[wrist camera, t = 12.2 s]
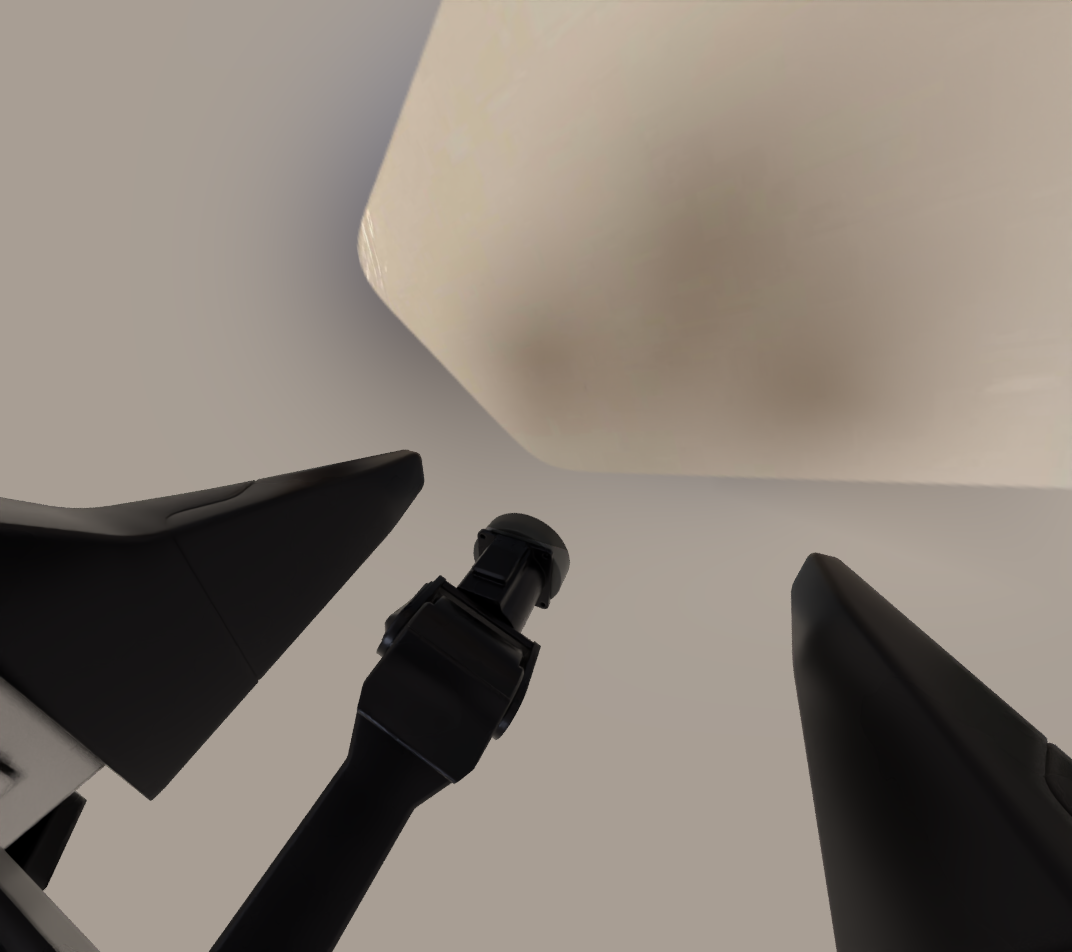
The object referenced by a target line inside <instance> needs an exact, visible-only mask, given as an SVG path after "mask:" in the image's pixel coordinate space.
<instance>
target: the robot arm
mask: <svg viewBox="0 0 1072 952" xmlns="http://www.w3.org/2000/svg"><path fill="white" fill-rule="evenodd" d="M423 485H424V474H423V466H422V459H421V456H420V454H418V453H417V452H413V451H409V450H400V451H396V452H390V453H385V454H380V455H376V456H371V457H366V458H361V459H356V460H351V461H346V462H342V463H336V464H332V465H326V466H322V467H317V468H312V469H307V470H302V471H297V472H293V473H287V474H282V475H278V476H273V477H268V478H263V479H258V480H257V481H255V480H253V481H248V482H243V483H238V484H233V485H228V486H222V487H217V488H212V489H207V490H201V491H195V492H190V493H184V494H178V495H172V496H166V497H161V498H154V499H148V500H142V501H136V502H130V503H124V504H118V505H112V506H104V507H95V508H64V507H55V506H48V505H42V504H36V503H31V502H25V501H19V500H13V499H7V498H1V497H0V952H100V951H99V950H98V949H97V948H96V947H95V946H94V945H93V944H92V943H91V942H90V941H89V939H88V938H87V937H86V936H85V935H84V934H83V933H82V932H81V931H80V930H79V929H78V928H77V927H76V926H75V925H74V924H73V923H72V921H71V920H70V919H68V917H67V916H66V915H65V914H64V913H63V912H62V911H61V910H60V909H59V908H58V907H57V906H56V905H55V903H54V902H53V901H52V900H51V899H50V898H49V897H48V896H47V895H46V894H45V893H44V892H43V890H44V889H45V888H46V887H47V885H48V883H49V881H50V878H51V877H52V875H53V872H54V870H55V868H56V866H57V864H58V862H59V859H60V857H61V855H62V853H63V851H64V849H65V846H66V844H67V842H68V840H69V838H70V836H71V833H72V831H73V829H74V827H75V825H76V823H77V821H78V818H79V816H80V814H81V812H82V810H83V807H84V805H85V803H86V799H85V798H84V797H82V796H81V795H80V794H79V793H78V792H77V791H76V790H77V789H78V788H79V787H80V786H82V785H83V784H84V783H85V782H86V781H87V780H89V779H90V778H91V777H92V776H93V775H95V774H96V773H97V772H98V771H99V770H101V769H102V768H103V767H104V766H105V765H106V766H107V767H108V768H110V769H111V770H112V771H113V772H115V773H116V774H118V775H119V776H120V777H121V778H122V779H123V780H125V781H126V782H127V783H129V784H130V785H131V786H132V787H134V788H135V789H136V790H137V791H139V792H140V793H141V794H143V795H144V796H145V797H146V798H148V799H149V800H150V801H151V800H153V799H154V798H155V797H156V796H157V795H158V794H159V793H160V792H161V791H162V790H163V789H164V788H165V787H166V786H167V785H168V784H169V782H170V781H171V780H172V779H173V778H174V777H175V776H176V775H177V773H178V772H179V771H180V770H181V769H182V768H183V767H184V765H185V764H186V763H187V762H188V761H189V760H190V759H191V758H192V756H193V755H194V754H195V753H196V752H197V751H198V750H199V749H200V747H201V746H202V745H203V744H204V743H205V742H206V741H207V739H208V738H209V737H210V736H211V735H212V734H213V732H214V731H215V730H216V729H217V728H218V727H219V726H220V725H221V724H222V722H223V721H224V720H225V719H226V718H227V717H228V716H229V715H230V713H231V712H232V711H233V710H234V709H235V708H236V707H237V705H238V704H239V703H240V702H241V701H242V700H243V698H245V696H246V695H247V694H248V693H249V692H250V690H252V689H253V687H254V686H255V685H256V684H257V683H258V680H259V679H261V678H262V677H263V676H264V675H265V673H266V672H267V671H268V670H269V669H270V668H271V666H272V665H273V664H274V663H275V662H276V661H277V660H278V659H279V658H280V656H281V655H282V654H283V653H284V652H285V651H286V650H287V648H288V647H289V646H290V645H291V644H292V643H293V642H294V640H296V638H297V637H298V636H299V635H300V634H301V633H302V632H303V630H304V629H305V628H306V627H307V626H308V625H309V624H310V622H311V621H312V620H313V619H314V618H315V617H316V616H317V615H318V614H319V612H320V611H321V610H322V609H323V608H324V607H325V606H326V604H327V603H328V602H329V601H330V600H331V599H332V598H333V596H334V595H335V594H336V593H337V592H338V591H339V590H340V589H341V588H342V586H343V585H344V584H345V583H346V582H347V581H348V580H349V578H350V577H351V576H352V575H353V574H354V573H355V572H356V570H357V569H358V568H359V567H360V566H361V565H362V564H363V563H364V562H365V560H366V559H367V558H368V557H369V556H370V555H371V554H372V552H373V551H374V550H375V549H376V548H377V547H378V546H379V544H380V543H381V542H382V541H383V540H384V539H385V538H386V536H387V535H388V534H389V533H390V532H391V531H392V529H393V528H394V527H395V525H396V524H397V523H398V521H399V520H400V519H401V517H402V516H403V514H404V513H405V512H406V510H407V509H408V507H409V506H410V505H411V503H412V502H413V500H414V499H415V498H416V496H417V494H418V493H419V492H420V491H421V489H422V487H423ZM484 535H485V536H484ZM478 551H479V558H478V560H477V561H476V562H475V564H474V565H473V566H472V568H471V570H470V571H469V573H468V574H467V575H466V576H465V577H464V579H463V580H462V581H461V583H460V584H459V585H458V587H457V588H456V587H454V586H453V585H451V584H450V583H449V582H447V581H446V579H445V578H444V577H442V576H441V575H440V576H439V577H438V578H437V579H436V580H435V581H434V582H432V581H431V582H430V583H426V584H425V585H424V586H423V587H422V588H421V589H420V591H418V593H417V594H416V595H415V596H414V597H413V598H412V599H411V600H410V601H409V602H408V603H406V604H405V605H403V606H402V607H401V608H400V609H398V610H397V611H395V612H394V613H393V614H391V615H390V616H389V618H388V619H387V620H386V622H385V634H384V636H383V639H382V642H381V644H380V645H379V647H378V649H377V653H378V654H379V655H380V656H382V658H381V660H380V661H379V662H378V664H377V665H376V666H375V668H374V669H373V670H372V672H371V673H370V674H369V676H368V677H367V678H366V680H365V682H364V683H363V686H362V691H361V695H360V699H359V703H358V707H357V714H356V719H355V724H354V729H353V733H352V738H351V743H350V748H349V753H348V756H347V758H346V760H345V761H344V763H343V764H342V766H341V767H340V769H339V770H338V771H337V773H336V774H335V776H334V777H333V778H332V780H331V781H330V783H329V784H328V785H327V787H326V788H325V790H324V791H323V792H322V794H321V795H320V797H319V798H318V799H317V801H316V802H315V804H314V805H313V806H312V808H311V810H310V811H309V812H308V814H307V815H306V816H305V818H304V819H303V820H302V822H301V823H300V825H299V826H298V827H297V829H296V830H295V832H294V833H293V834H292V836H291V837H290V839H289V840H288V841H287V843H286V844H285V846H284V847H283V849H282V850H281V851H280V853H279V854H278V856H277V857H276V858H275V860H274V861H273V863H272V864H271V865H270V867H269V868H268V870H267V871H266V872H265V874H264V875H263V877H262V878H261V880H260V881H259V882H258V883H257V885H256V886H255V888H254V889H253V891H252V892H251V894H250V895H249V896H248V898H247V899H246V900H245V902H244V903H243V905H242V906H241V907H240V909H239V910H238V912H237V913H236V914H235V916H234V917H233V919H232V920H231V921H230V923H229V924H228V926H227V927H226V928H225V930H224V931H223V933H222V934H221V935H220V937H219V938H218V940H217V941H216V942H215V944H214V945H213V947H212V948H211V949H210V951H209V952H332V951H333V949H334V948H335V946H336V944H337V943H338V941H339V939H340V937H341V935H342V934H343V932H344V930H345V929H346V927H347V925H348V923H349V921H350V920H351V918H352V916H353V915H354V913H355V911H356V909H357V908H358V906H359V904H360V902H361V901H362V899H363V897H364V895H365V894H366V892H367V890H368V888H369V887H370V885H371V883H372V881H373V880H374V878H375V876H376V874H377V873H378V871H379V869H380V867H381V866H382V864H383V862H384V861H385V859H386V857H387V855H388V853H389V852H390V850H391V848H392V847H393V845H394V843H395V841H396V839H397V838H398V836H399V834H400V833H401V831H402V829H403V827H404V826H405V824H406V822H407V820H408V819H409V817H410V815H411V814H412V812H413V810H414V809H415V808H416V807H417V806H419V805H420V804H422V803H423V802H425V801H426V800H427V799H429V798H430V797H432V796H433V795H435V794H436V793H438V792H439V791H441V790H442V789H443V788H445V787H446V786H448V785H449V784H450V783H454V784H455V783H457V782H458V781H460V780H461V779H462V778H464V777H465V776H466V775H467V774H469V773H470V772H471V771H472V770H473V769H474V768H475V766H476V764H477V763H478V761H479V759H480V758H481V756H482V754H483V752H484V750H485V749H486V747H487V745H488V743H489V741H490V740H491V738H492V737H493V738H494V739H495V740H497V739H499V738H500V737H501V736H502V735H503V733H504V732H505V731H506V729H507V728H508V726H509V725H510V723H511V722H512V720H513V718H514V716H515V715H516V713H517V711H518V709H519V707H520V705H521V703H522V701H523V699H524V696H525V693H526V691H527V688H528V685H529V682H530V679H531V676H532V673H533V669H534V666H535V663H536V660H537V657H538V654H539V650H540V647H541V646H540V645H539V644H537V643H536V642H535V641H534V642H532V641H531V640H530V639H528V638H527V637H525V636H524V635H522V634H521V631H522V629H523V627H524V625H525V624H526V621H527V619H528V618H529V616H530V614H531V612H532V610H533V608H534V606H537V607H540V608H543V609H547V608H548V606H549V604H550V596H551V584H552V571H553V558H554V553H553V551H552V550H551V549H549V548H546V547H543V546H539V545H536V544H533V543H530V542H526V541H523V540H520V539H516V538H513V537H510V536H506V535H503V534H500V533H496V532H493V531H490V530H486V529H481V530H480V531H479V533H478ZM546 554H548V555H546ZM791 613H792V655H793V668H794V678H795V684H796V690H797V697H798V703H799V709H800V716H801V723H802V729H803V735H804V742H805V749H806V754H807V762H808V768H809V774H810V781H811V787H812V794H813V800H814V807H815V813H816V819H817V826H818V833H819V839H820V846H821V852H822V859H823V865H824V871H825V877H826V885H827V891H828V897H829V904H830V910H831V916H832V923H833V929H834V936H835V943H836V949H837V952H1072V759H1071V758H1070V757H1069V756H1068V755H1066V754H1065V753H1064V752H1063V751H1062V750H1061V749H1059V748H1058V747H1057V746H1056V745H1054V744H1052V743H1047V738H1046V737H1045V736H1044V735H1043V734H1042V733H1041V732H1039V731H1038V730H1037V729H1036V728H1035V727H1034V726H1033V725H1031V724H1030V723H1029V722H1028V721H1027V720H1026V719H1024V718H1023V717H1022V716H1021V715H1020V714H1019V713H1017V712H1016V711H1015V710H1014V709H1013V708H1012V707H1010V706H1009V705H1008V704H1007V703H1006V702H1005V701H1003V700H1002V699H1001V698H1000V697H999V696H998V695H997V694H995V693H994V692H993V691H992V690H991V689H989V688H988V687H987V686H986V685H985V684H984V683H983V682H981V681H980V680H979V679H978V678H977V677H975V676H974V675H973V674H972V673H971V672H970V671H969V670H967V669H966V668H965V667H964V666H963V665H962V664H960V663H959V662H958V661H957V660H956V659H955V658H954V657H952V656H951V655H950V654H949V653H948V652H947V651H945V650H944V649H943V648H942V647H941V646H940V645H938V644H937V643H936V642H935V641H934V640H933V639H931V638H930V637H929V636H928V635H927V634H926V633H924V632H923V631H922V630H921V629H920V628H919V627H917V626H916V625H915V624H914V623H913V622H912V621H910V620H909V619H908V618H907V617H906V616H905V615H903V614H902V613H901V612H900V611H899V610H898V609H897V608H895V607H894V606H893V605H892V604H891V603H889V602H888V601H887V600H886V599H885V598H884V597H883V596H881V595H880V594H879V593H878V592H877V591H876V590H874V589H873V588H872V587H871V586H870V585H869V584H868V583H866V582H865V581H864V580H863V579H862V578H861V577H859V576H858V575H857V574H856V573H855V572H854V571H852V570H851V569H850V568H849V567H848V566H846V565H845V564H844V563H843V562H842V561H841V560H839V559H838V558H835V557H832V556H828V555H824V554H820V553H812V554H810V555H809V556H808V557H807V559H806V561H805V563H804V564H803V566H802V568H801V570H800V571H799V573H798V575H797V577H796V579H795V581H794V583H793V585H792V590H791Z"/></svg>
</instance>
